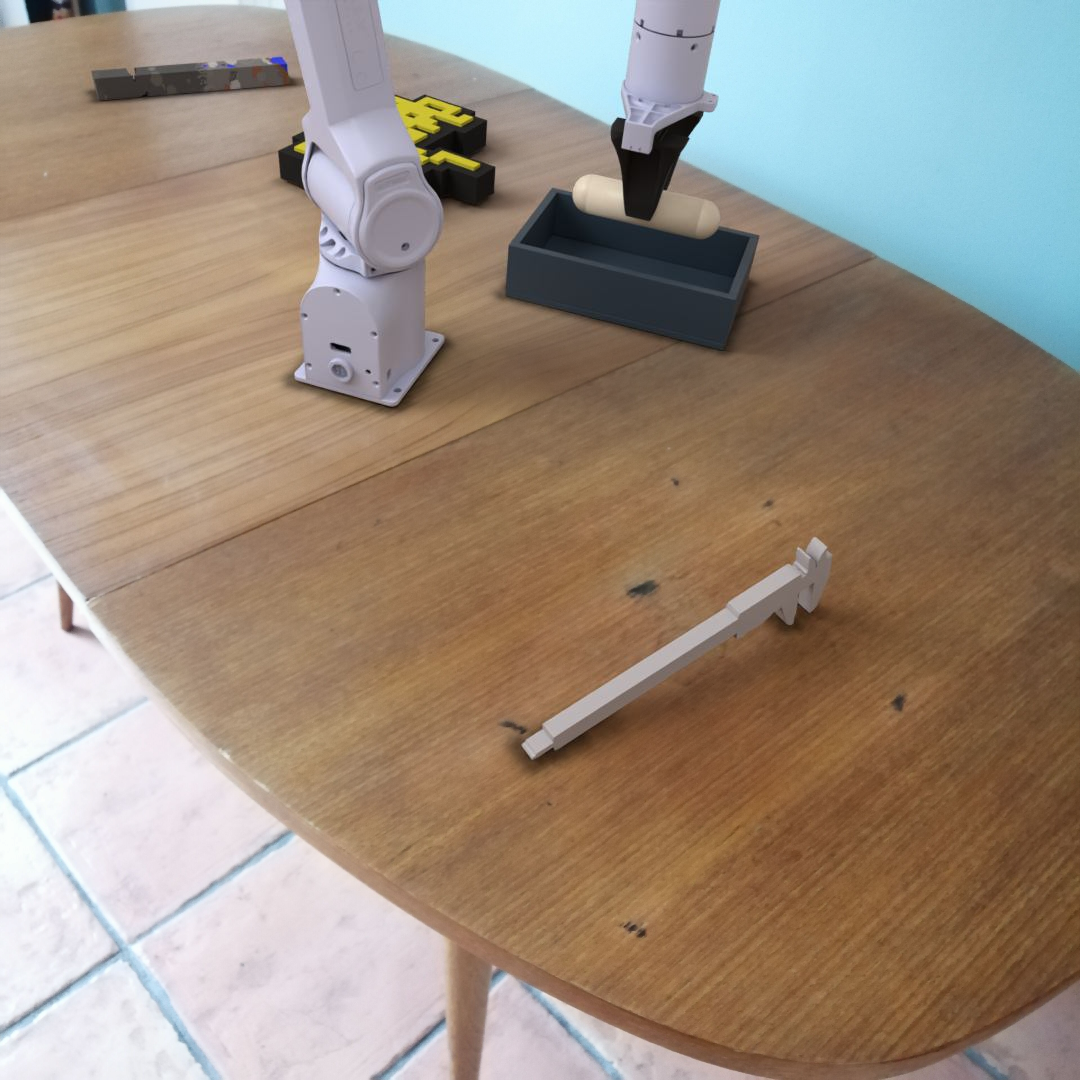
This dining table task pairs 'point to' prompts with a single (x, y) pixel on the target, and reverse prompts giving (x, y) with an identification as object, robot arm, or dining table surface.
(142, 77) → the pillar
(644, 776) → the dining table surface
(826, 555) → the caliper
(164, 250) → the dining table surface
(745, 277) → the bin
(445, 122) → the toy
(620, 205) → the cream capsule shape
